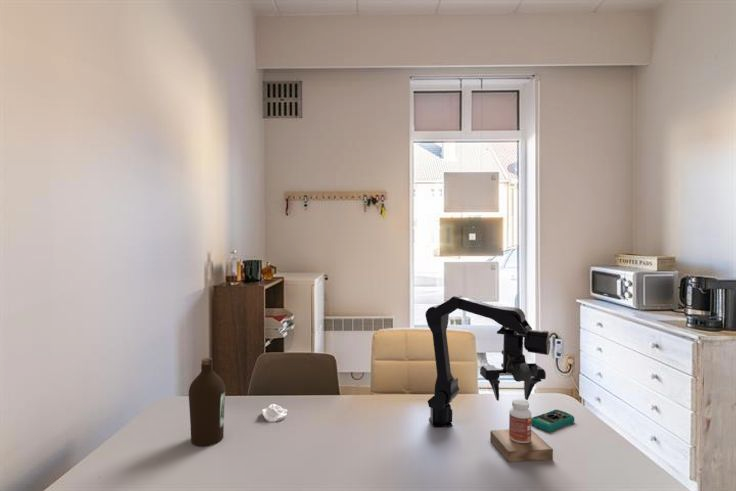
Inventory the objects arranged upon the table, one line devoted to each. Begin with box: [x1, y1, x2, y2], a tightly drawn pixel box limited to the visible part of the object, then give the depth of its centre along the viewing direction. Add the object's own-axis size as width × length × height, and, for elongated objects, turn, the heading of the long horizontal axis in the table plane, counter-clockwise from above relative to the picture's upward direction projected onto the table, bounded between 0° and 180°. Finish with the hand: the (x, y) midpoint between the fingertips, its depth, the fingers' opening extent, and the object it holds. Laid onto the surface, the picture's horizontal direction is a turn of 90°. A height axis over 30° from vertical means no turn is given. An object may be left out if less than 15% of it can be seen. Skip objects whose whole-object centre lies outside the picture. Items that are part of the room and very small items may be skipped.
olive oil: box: [188, 357, 226, 447], centre depth 132 cm, size 11×11×25 cm
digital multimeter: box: [531, 409, 575, 433], centre depth 144 cm, size 7×15×3 cm, turn 122°
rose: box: [261, 403, 288, 423], centre depth 149 cm, size 10×4×10 cm
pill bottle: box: [508, 398, 533, 443], centre depth 126 cm, size 6×6×11 cm
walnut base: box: [489, 428, 554, 463], centre depth 126 cm, size 13×13×3 cm
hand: (511, 399), depth 131 cm, fingers open, 9 cm apart
